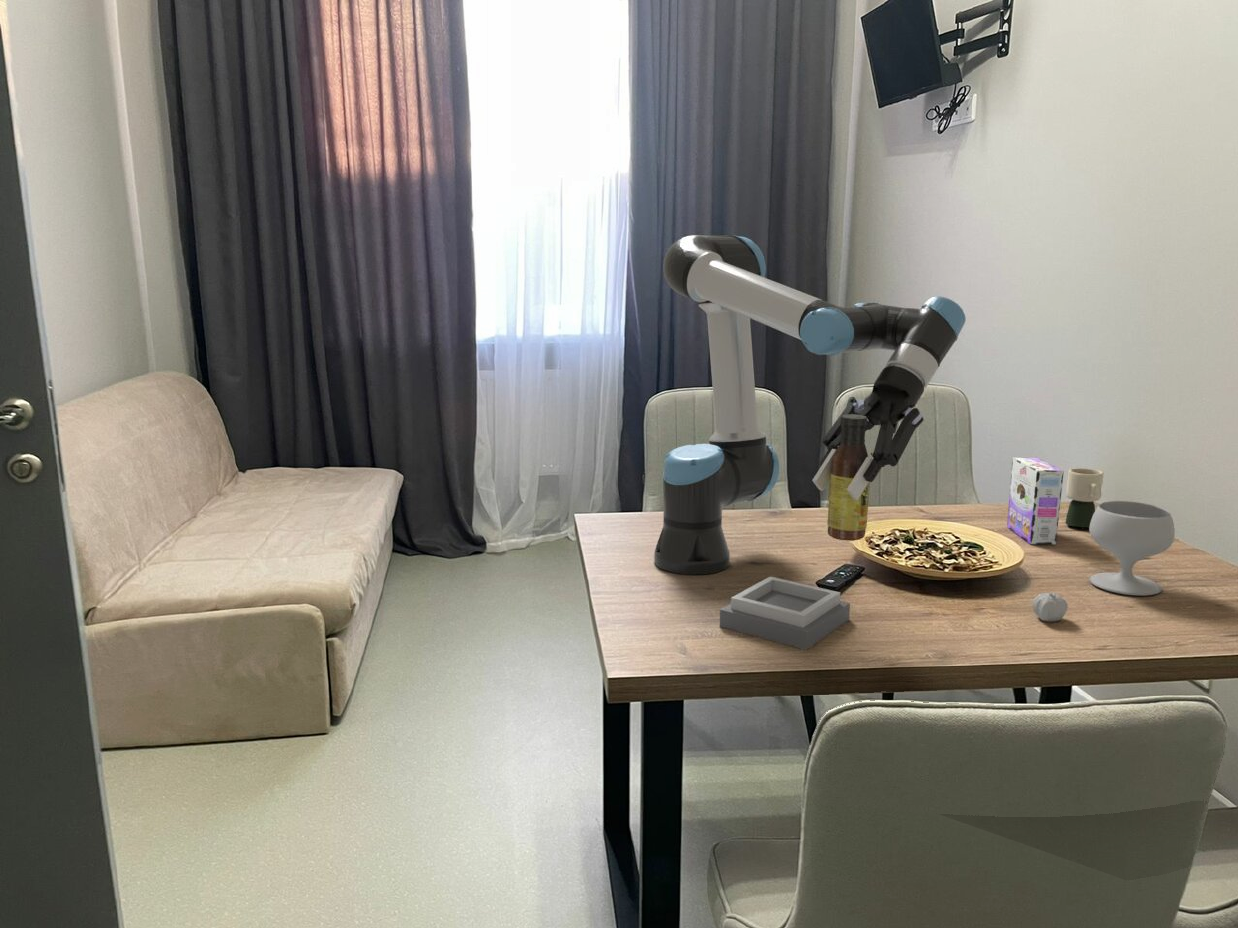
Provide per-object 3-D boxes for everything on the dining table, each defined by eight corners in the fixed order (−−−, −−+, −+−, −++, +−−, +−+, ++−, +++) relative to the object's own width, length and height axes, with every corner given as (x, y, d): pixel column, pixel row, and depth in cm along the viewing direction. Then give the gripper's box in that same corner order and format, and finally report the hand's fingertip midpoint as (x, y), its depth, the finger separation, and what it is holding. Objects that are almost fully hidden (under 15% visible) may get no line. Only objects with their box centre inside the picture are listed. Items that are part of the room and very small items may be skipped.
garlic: (1064, 628, 161) (1067, 598, 160) (1029, 622, 164) (1032, 593, 163) (1067, 616, 166) (1070, 587, 165) (1033, 610, 169) (1036, 582, 168)
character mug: (1106, 534, 214) (1113, 477, 211) (1074, 533, 214) (1080, 476, 211) (1085, 520, 224) (1091, 465, 222) (1054, 520, 225) (1060, 465, 222)
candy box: (1057, 545, 206) (1065, 470, 202) (1029, 545, 206) (1036, 470, 202) (1031, 527, 219) (1038, 456, 216) (1005, 527, 219) (1011, 456, 216)
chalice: (1085, 569, 190) (1093, 496, 187) (1166, 580, 184) (1176, 504, 181) (1081, 591, 178) (1090, 513, 175) (1168, 604, 172) (1179, 523, 169)
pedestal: (719, 626, 162) (720, 598, 161) (766, 599, 174) (767, 572, 173) (806, 649, 153) (807, 620, 151) (849, 619, 165) (850, 591, 164)
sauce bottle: (866, 543, 154) (876, 421, 149) (826, 541, 155) (835, 419, 150) (864, 530, 160) (873, 413, 155) (825, 528, 161) (833, 411, 156)
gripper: (964, 401, 154) (894, 517, 148) (865, 385, 168) (798, 490, 162) (948, 371, 149) (875, 489, 143) (848, 357, 164) (778, 464, 158)
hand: (834, 490), depth 153 cm, fingers closed on sauce bottle, 6 cm apart
